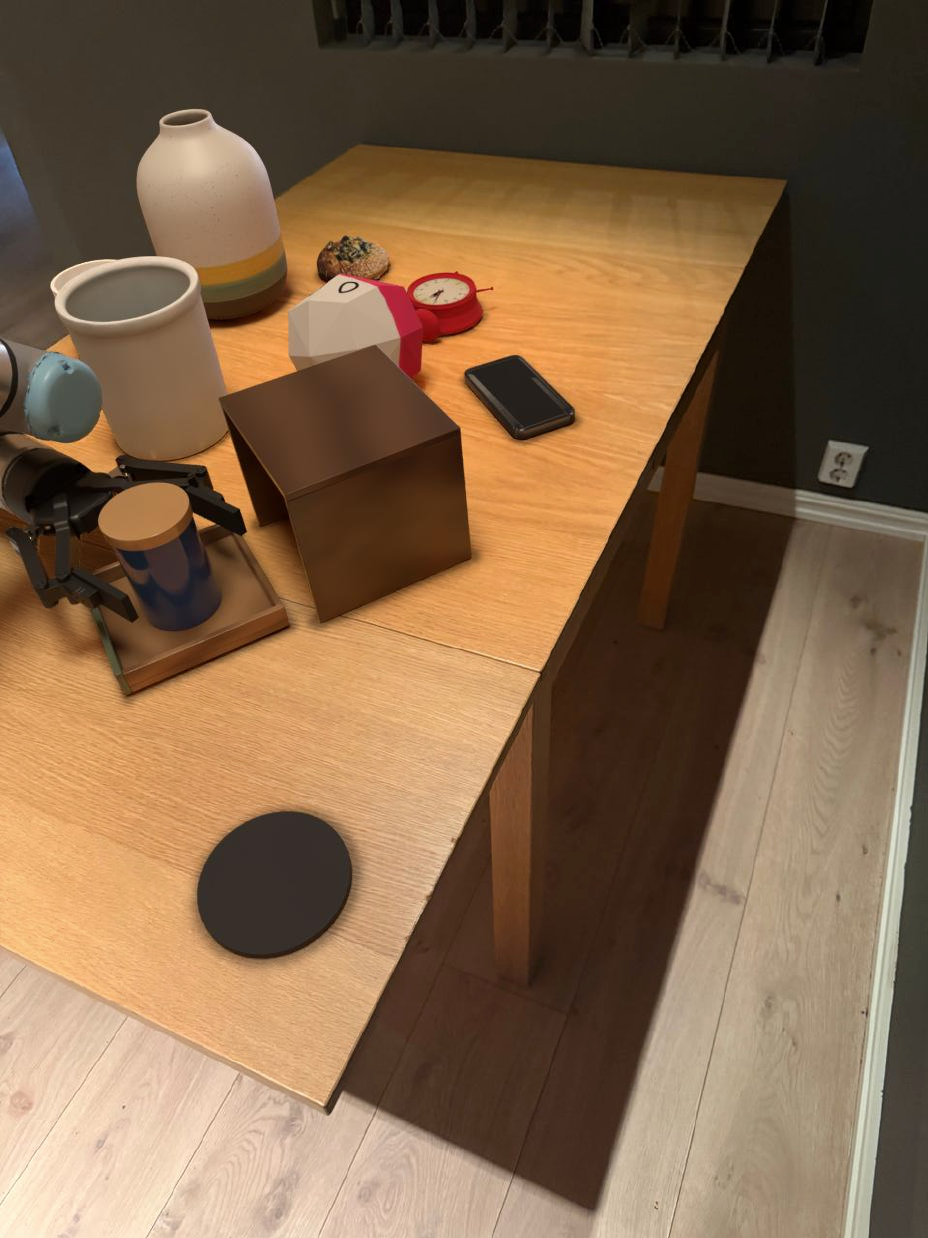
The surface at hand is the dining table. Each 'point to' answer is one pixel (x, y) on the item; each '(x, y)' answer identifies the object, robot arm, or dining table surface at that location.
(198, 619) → the jar
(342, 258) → the bread roll
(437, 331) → the alarm clock
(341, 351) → the decorative object
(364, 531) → the cabinet
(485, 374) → the phone
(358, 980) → the dining table surface
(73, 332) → the utensil holder
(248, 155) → the vase
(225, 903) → the coaster
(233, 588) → the drawer
